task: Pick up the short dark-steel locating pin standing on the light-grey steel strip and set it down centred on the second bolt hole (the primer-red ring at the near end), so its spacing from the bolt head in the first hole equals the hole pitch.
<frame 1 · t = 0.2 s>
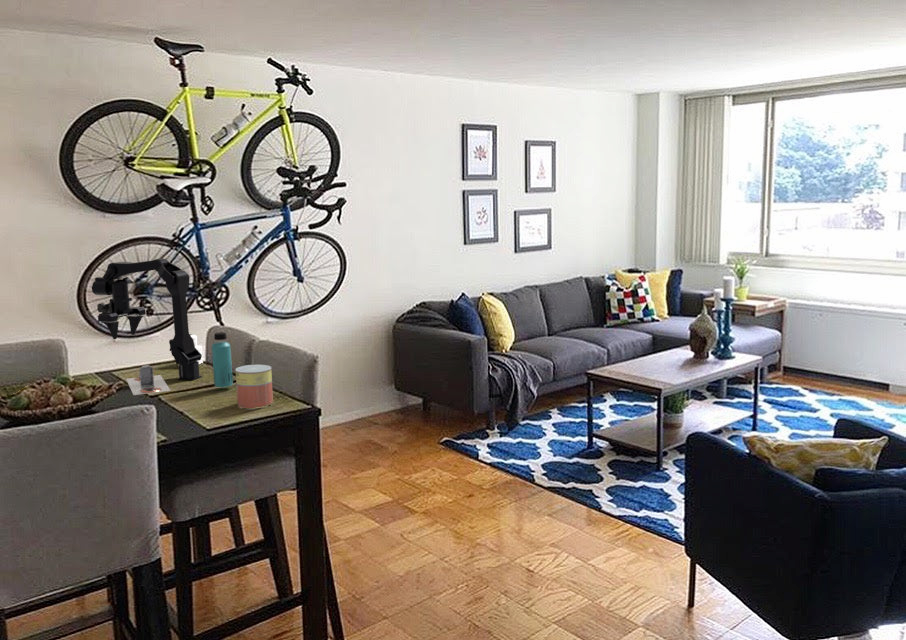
hand: (124, 336, 287), 14 cm above the table, fingers open, 9 cm apart
beverage bottle: (223, 389, 267), on the table
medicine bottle: (190, 365, 305), on the table
canned food: (255, 405, 248), on the table
flange strip: (147, 384, 273), on the table
locating pin: (147, 383, 274), resting on flange strip
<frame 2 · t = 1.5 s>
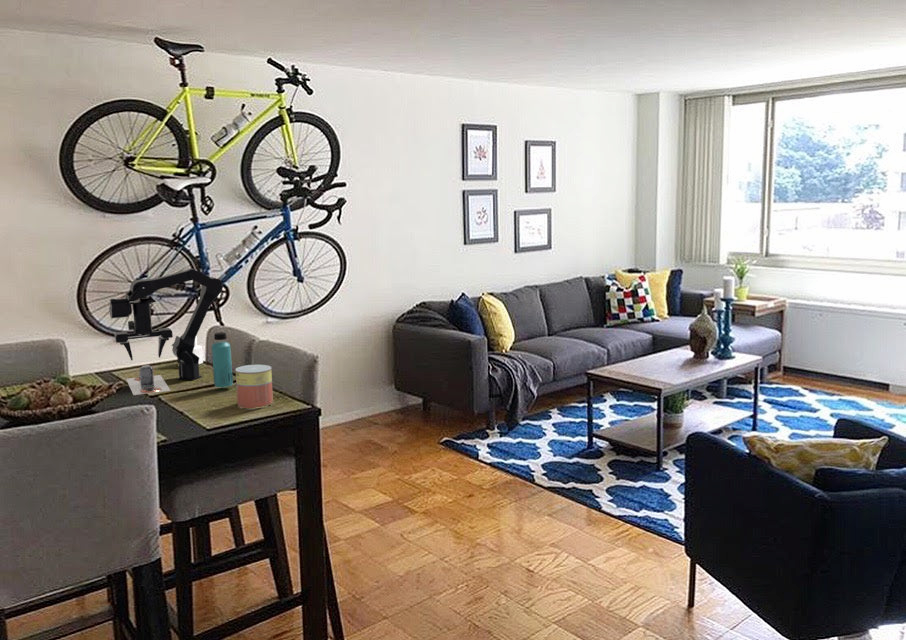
hand: (145, 358, 273), 9 cm above the table, fingers open, 9 cm apart
nothing on the table moved.
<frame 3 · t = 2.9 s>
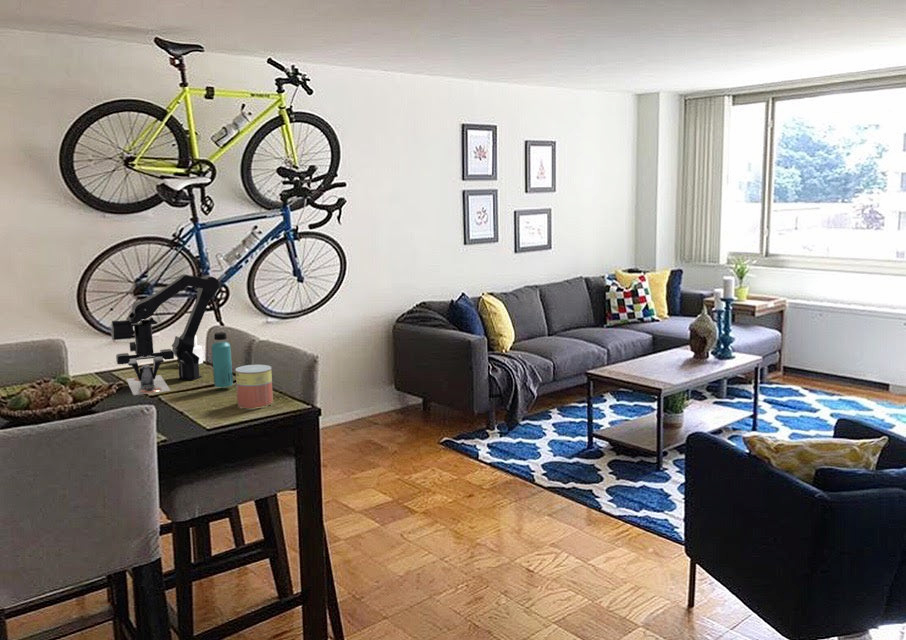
hand: (147, 379, 274), 2 cm above the table, fingers closed on locating pin, 4 cm apart
locating pin: (147, 383, 274), resting on flange strip, touching gripper
everything else where it was.
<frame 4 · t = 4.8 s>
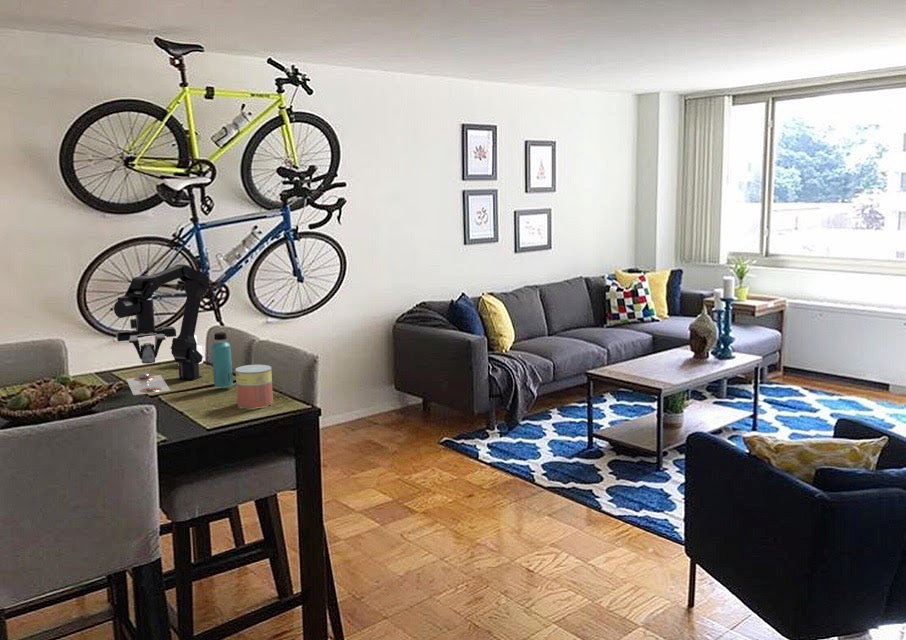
hand: (148, 358, 264), 11 cm above the table, fingers closed on locating pin, 4 cm apart
locating pin: (148, 362, 264), point 10 cm above the table, touching gripper
everything else where it was.
when the fingers open (3 cm above the table, at t = 6.7 s): locating pin stays where it is, resting on flange strip.
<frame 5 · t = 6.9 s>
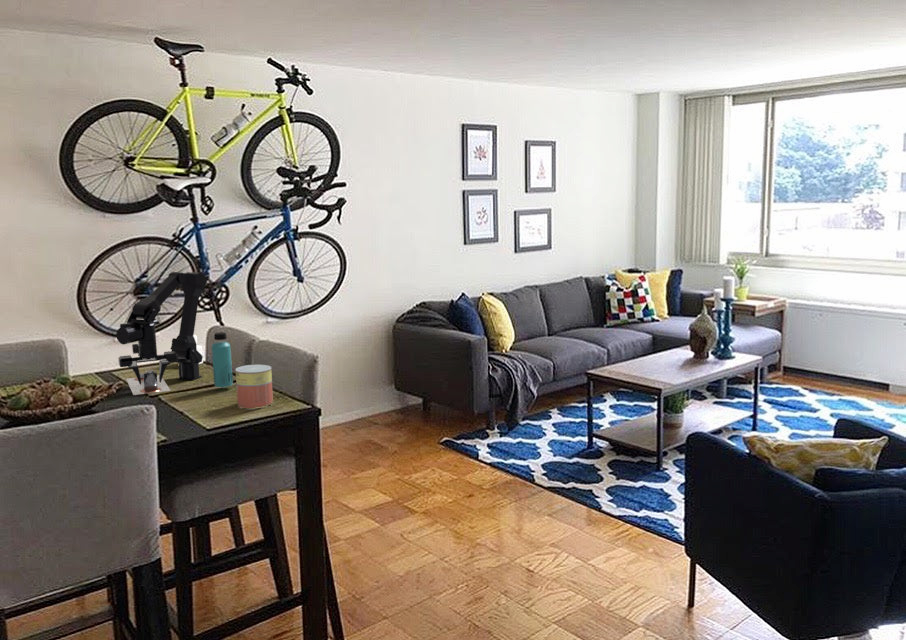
hand: (150, 383, 265), 3 cm above the table, fingers open, 6 cm apart
locating pin: (150, 389, 266), resting on flange strip
everything else where it was.
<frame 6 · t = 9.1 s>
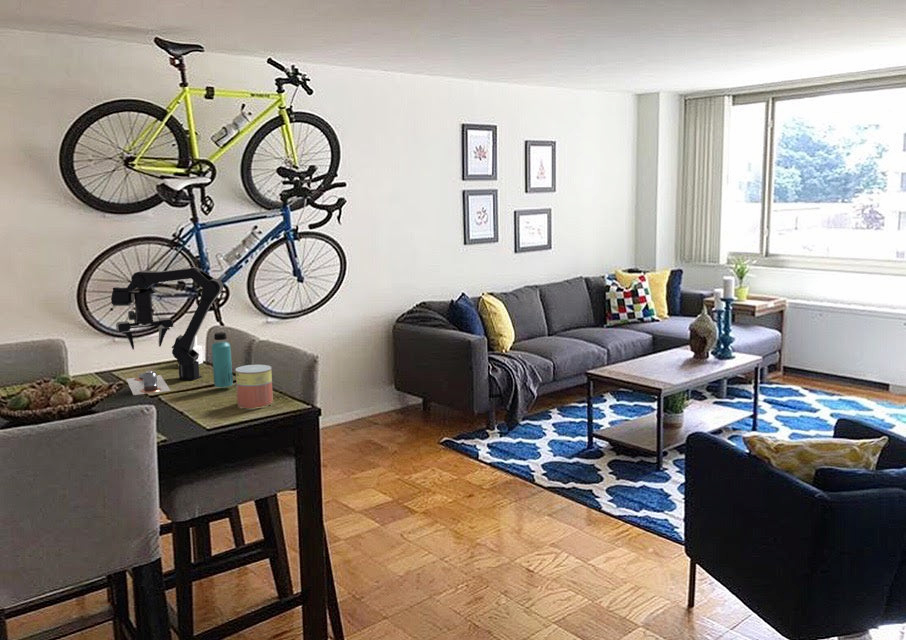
hand: (146, 347, 279), 12 cm above the table, fingers open, 9 cm apart
nothing on the table moved.
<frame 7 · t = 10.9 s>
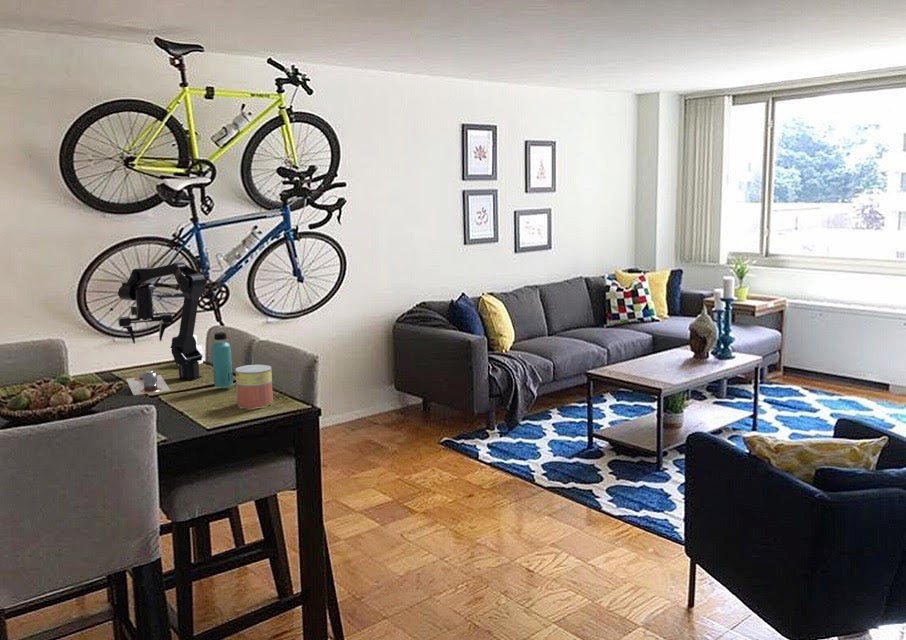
hand: (147, 342, 289), 12 cm above the table, fingers open, 9 cm apart
nothing on the table moved.
at the end: locating pin 0.0 cm from the target spot, resting on flange strip; locating pin tilted 0°; the gripper is holding nothing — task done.
